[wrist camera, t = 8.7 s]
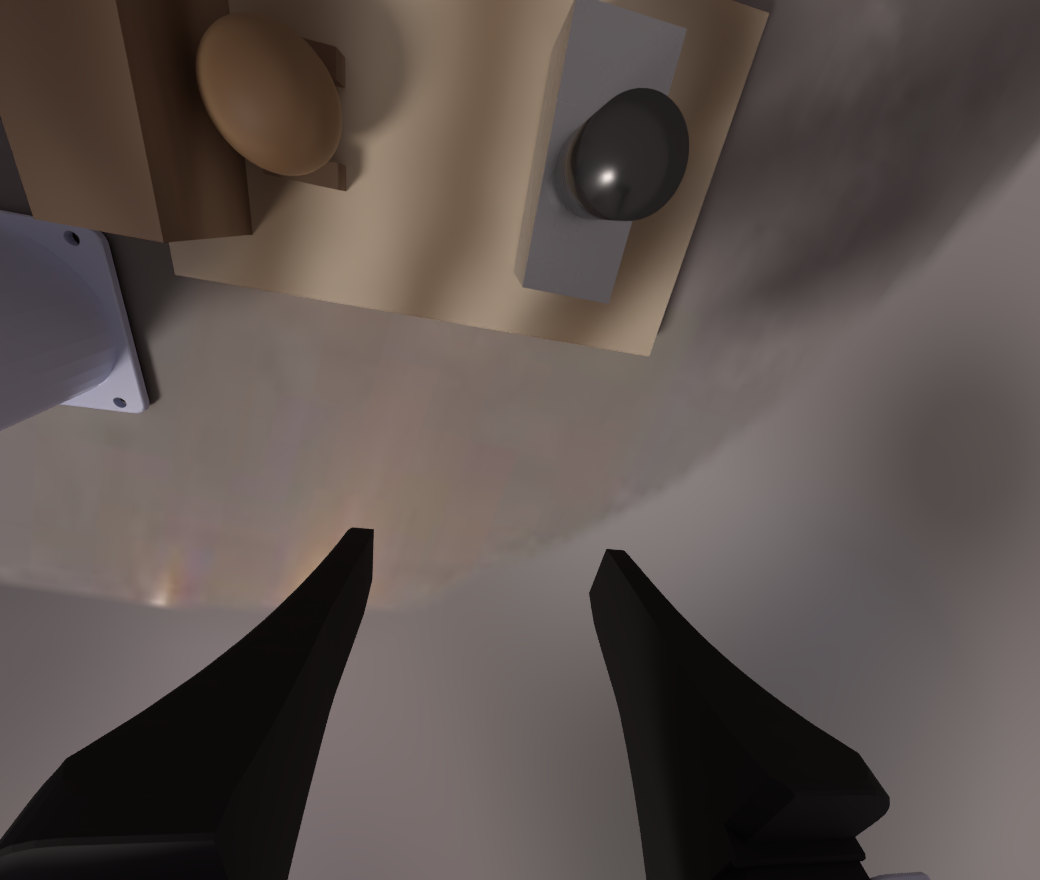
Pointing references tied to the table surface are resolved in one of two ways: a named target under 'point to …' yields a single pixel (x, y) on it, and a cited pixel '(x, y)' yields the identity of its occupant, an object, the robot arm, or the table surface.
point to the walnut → (268, 93)
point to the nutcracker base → (354, 151)
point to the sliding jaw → (600, 148)
